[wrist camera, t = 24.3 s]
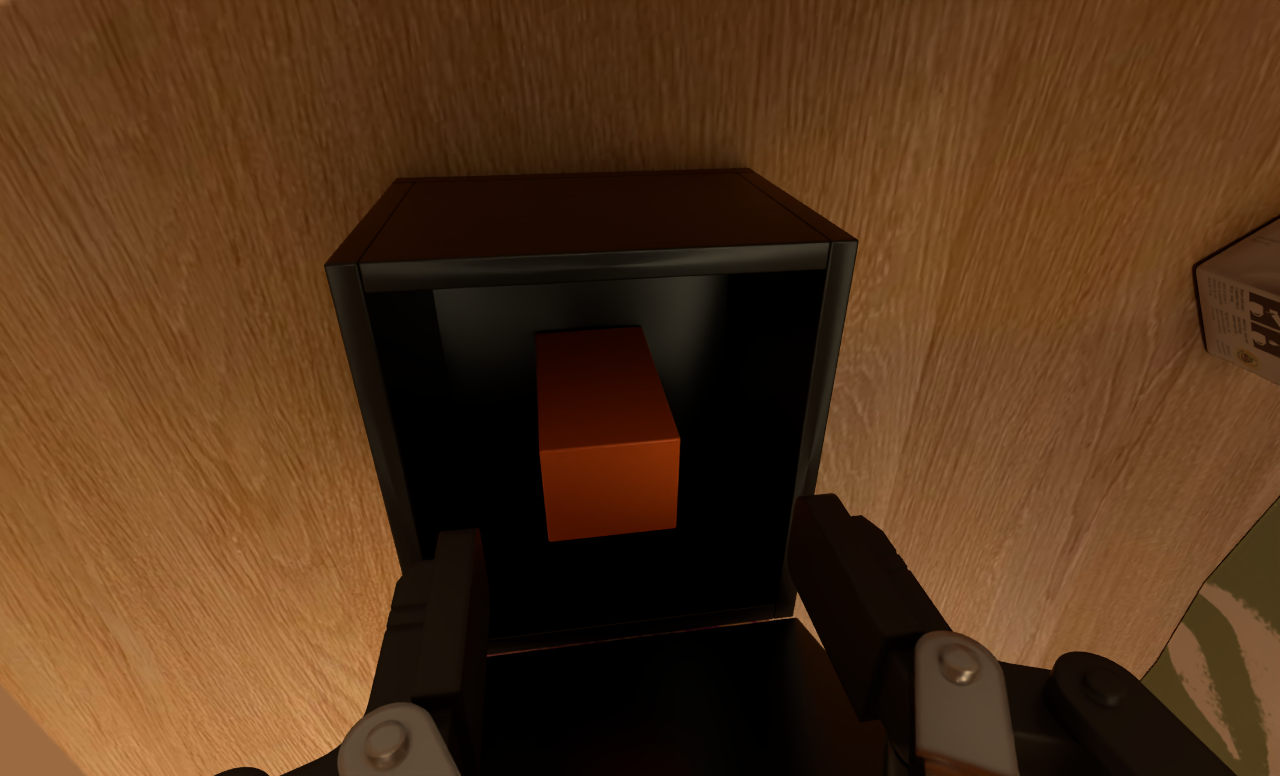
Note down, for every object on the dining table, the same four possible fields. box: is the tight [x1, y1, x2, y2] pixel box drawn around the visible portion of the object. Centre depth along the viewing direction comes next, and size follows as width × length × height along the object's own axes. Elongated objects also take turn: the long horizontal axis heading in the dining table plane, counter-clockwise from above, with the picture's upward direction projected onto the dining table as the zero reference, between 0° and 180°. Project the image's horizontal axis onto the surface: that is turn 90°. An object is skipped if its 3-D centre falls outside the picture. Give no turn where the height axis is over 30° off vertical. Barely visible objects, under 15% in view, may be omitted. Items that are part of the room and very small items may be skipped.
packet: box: [535, 327, 680, 542], centre depth 24 cm, size 8×4×4 cm
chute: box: [324, 168, 858, 655], centre depth 24 cm, size 15×14×10 cm
